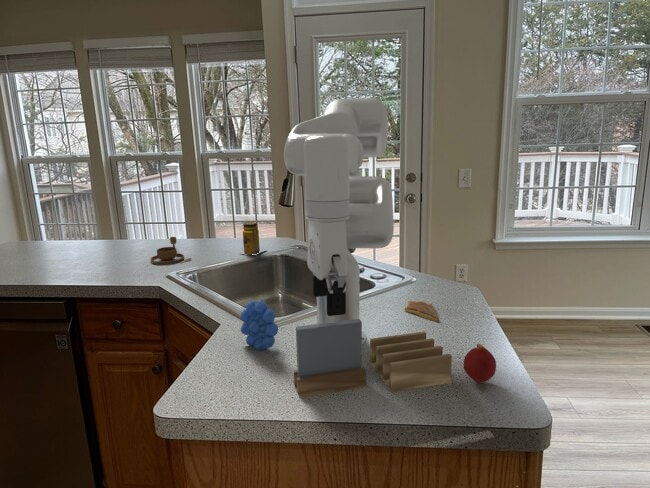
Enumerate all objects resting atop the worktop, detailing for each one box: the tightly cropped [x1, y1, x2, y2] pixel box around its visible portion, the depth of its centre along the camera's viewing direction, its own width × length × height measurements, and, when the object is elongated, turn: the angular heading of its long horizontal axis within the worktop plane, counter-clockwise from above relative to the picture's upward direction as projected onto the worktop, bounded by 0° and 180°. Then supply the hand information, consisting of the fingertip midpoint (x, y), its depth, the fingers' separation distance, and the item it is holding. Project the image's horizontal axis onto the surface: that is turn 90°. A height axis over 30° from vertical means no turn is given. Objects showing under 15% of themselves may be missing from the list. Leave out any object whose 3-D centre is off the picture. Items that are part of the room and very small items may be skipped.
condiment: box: [242, 221, 261, 256], centre depth 180 cm, size 7×8×12 cm
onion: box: [462, 343, 497, 384], centre depth 87 cm, size 6×6×8 cm
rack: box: [368, 331, 453, 393], centre depth 90 cm, size 12×12×6 cm
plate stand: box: [292, 367, 369, 399], centre depth 87 cm, size 6×13×4 cm, turn 105°
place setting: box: [150, 236, 192, 266], centre depth 176 cm, size 18×20×6 cm
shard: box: [404, 300, 439, 322], centre depth 120 cm, size 11×8×2 cm
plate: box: [295, 318, 363, 378], centre depth 85 cm, size 1×12×12 cm, turn 105°
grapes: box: [240, 300, 279, 351], centre depth 101 cm, size 12×7×12 cm, turn 47°
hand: (328, 304), depth 83 cm, fingers open, 9 cm apart
